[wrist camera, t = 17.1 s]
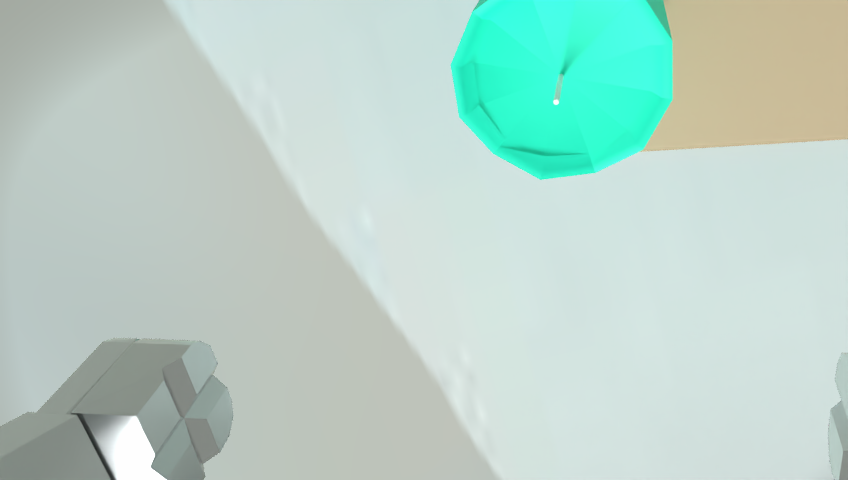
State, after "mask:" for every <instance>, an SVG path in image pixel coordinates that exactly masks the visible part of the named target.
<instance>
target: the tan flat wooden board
mask: <svg viewBox="0 0 848 480" xmlns="http://www.w3.org/2000/svg"><path fill="white" fill-rule="evenodd" d="M663 1H664V6H665V10H666V15H667V19H668V23H669V28H670V32H671V37H672V41H673V100H672V102H671V103H670V105H669V107H668V108H667V110H666V112H665V114H664V115H663V117H662V119H661V120H660V122H659V124H658V126H657V127H656V129H655V131H654V132H653V134H652V136H651V138H650V139H649V141H648V143H647V144H646V146H645V148H644V149H643V150H641V151H639V152H642V151H659V150H675V149H692V148H708V147H725V146H742V145H758V144H775V143H791V142H808V141H825V140H841V139H848V0H663Z"/></svg>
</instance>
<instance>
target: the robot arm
mask: <svg viewBox="0 0 848 480" xmlns="http://www.w3.org/2000/svg"><path fill="white" fill-rule="evenodd" d="M217 365H218V362H217V360H216V358H215V356H214V353H213V351H212V349H211V346H210V345H208V344H206V343H204V342H201V341H188V340H165V339H130V338H129V339H128V338H113V339H110V340H107V341H104V342H102V343H101V344H100V345H99V346H98V347H97V349H96V350H95V351H94V352H93V353H92V354H91V355H90V356H89V357H88V358H87V359H86V360H85V361H84V362H83V363H82V365H81V366H80V367H79V368H78V369H77V370H76V371H75V372H74V373H73V374H72V375H71V376H70V377H69V379H67V381H66V382H65V383H64V384H63V385H62V386H61V387H60V388H59V389H58V390H57V391H56V392H55V393H54V394H53V395H52V397H51V398H50V399H49V400H48V401H47V402H46V403H45V404H44V405H43V406H42V407H41V408H40V409H39V410H38V411H37V413H34V412H33V413H32V412H27V413H25V414H23V415H21V416H19V417H18V418H16V419H14V420H12V421H10V422H8V423H6V424H4V425H2V426H0V480H204V478H205V472H204V466H203V463H205V462H206V461H208V460H209V459H211V458H212V457H214V456H215V455H217V454H218V453H220V451H221V450H222V448H223V446H224V444H225V442H226V441H227V439H228V437H229V434H230V430H231V425H232V420H233V408H232V400H231V397H230V394H229V392H228V389H227V387H226V386H225V385H224V384H223V383H221V382H220V381H219V380H218V379H217V378H216V377H215V376H214V375H213V374H214V372H215V369H216V367H217ZM835 382H836V385H837V388H838V391H839V394H840V397H841V401H840V402H839V403H838V404H837V405H835V406H834V407H833V408H832V409H831V410H830V419H829V428H828V442H829V458H830V464H831V469H832V474H833V478H834V480H848V353H841V356H840V358H839V360H838V363H837V369H836V375H835Z"/></svg>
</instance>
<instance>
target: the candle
mask: <svg viewBox="0 0 848 480" xmlns="http://www.w3.org/2000/svg"><path fill="white" fill-rule="evenodd" d="M451 69H452V75H453V82H454V88H455V94H456V100H457V106H458V113H459V117H460V118H461V119H462V121H463V122H464V123H465V124H466V125H467V126H468V127H469V128H470V129H471V130H472V131H473V132H474V133H475V134H476V136H477V137H478V138H479V139H480V140H481V141H482V142H483V143H484V144H485V145H486V146H487V147H488V148H489V149H490V151H491V152H492V153H493V154H495V155H497V156H499V157H500V158H502V159H504V160H506V161H508V162H509V163H511V164H513V165H515V166H517V167H518V168H520V169H522V170H524V171H526V172H527V173H529V174H531V175H533V176H535V177H537V178H538V179H540V180H542V179H550V178H558V177H566V176H574V175H582V174H590V173H596V172H598V171H600V170H602V169H604V168H606V167H608V166H610V165H612V164H614V163H617V162H619V161H621V160H623V159H625V158H627V157H629V156H631V155H633V154H635V153H637V152H639V151H641V150H643V149H644V148H645V146H646V144H647V143H648V141H649V139H650V138H651V136H652V134H653V132H654V131H655V129H656V127H657V126H658V124H659V122H660V120H661V119H662V117H663V115H664V114H665V112H666V110H667V108H668V107H669V105H670V103H671V102H672V100H673V41H672V37H671V32H670V28H669V23H668V19H667V15H666V10H665V6H664V1H663V0H479V2H478V4H477V5H476V7H475V8H474V10H473V12H472V14H471V17H470V19H469V21H468V24H467V26H466V29H465V31H464V34H463V36H462V39H461V41H460V44H459V46H458V48H457V51H456V53H455V56H454V58H453V61H452V63H451Z"/></svg>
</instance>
